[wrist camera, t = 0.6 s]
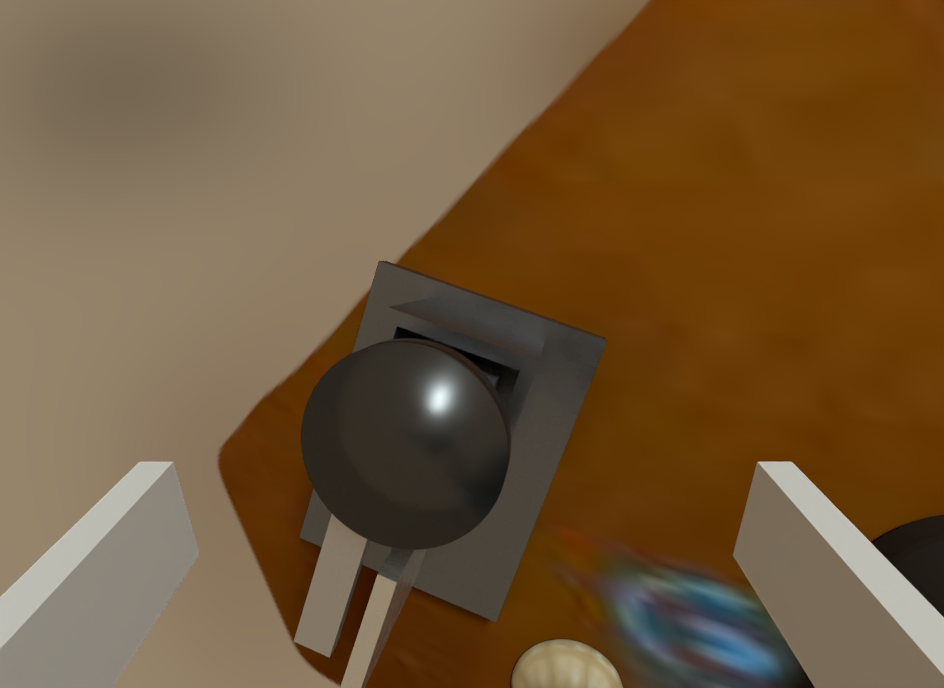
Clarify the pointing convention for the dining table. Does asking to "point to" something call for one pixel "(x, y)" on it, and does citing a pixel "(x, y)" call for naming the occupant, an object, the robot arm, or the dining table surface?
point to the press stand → (532, 443)
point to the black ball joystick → (397, 462)
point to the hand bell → (564, 667)
